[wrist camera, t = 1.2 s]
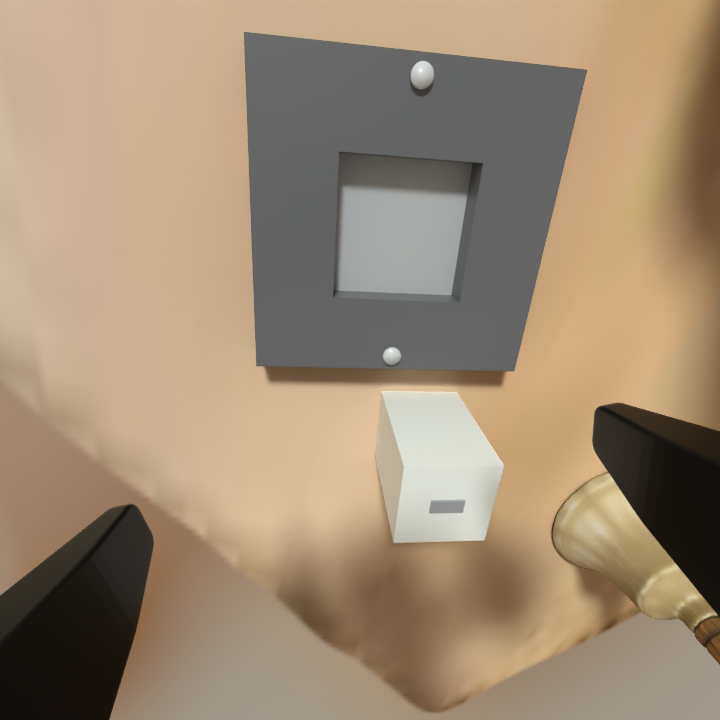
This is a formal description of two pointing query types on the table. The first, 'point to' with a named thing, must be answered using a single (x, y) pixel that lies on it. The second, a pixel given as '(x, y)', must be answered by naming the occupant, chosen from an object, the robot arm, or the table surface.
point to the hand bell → (631, 558)
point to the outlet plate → (399, 201)
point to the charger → (434, 468)
